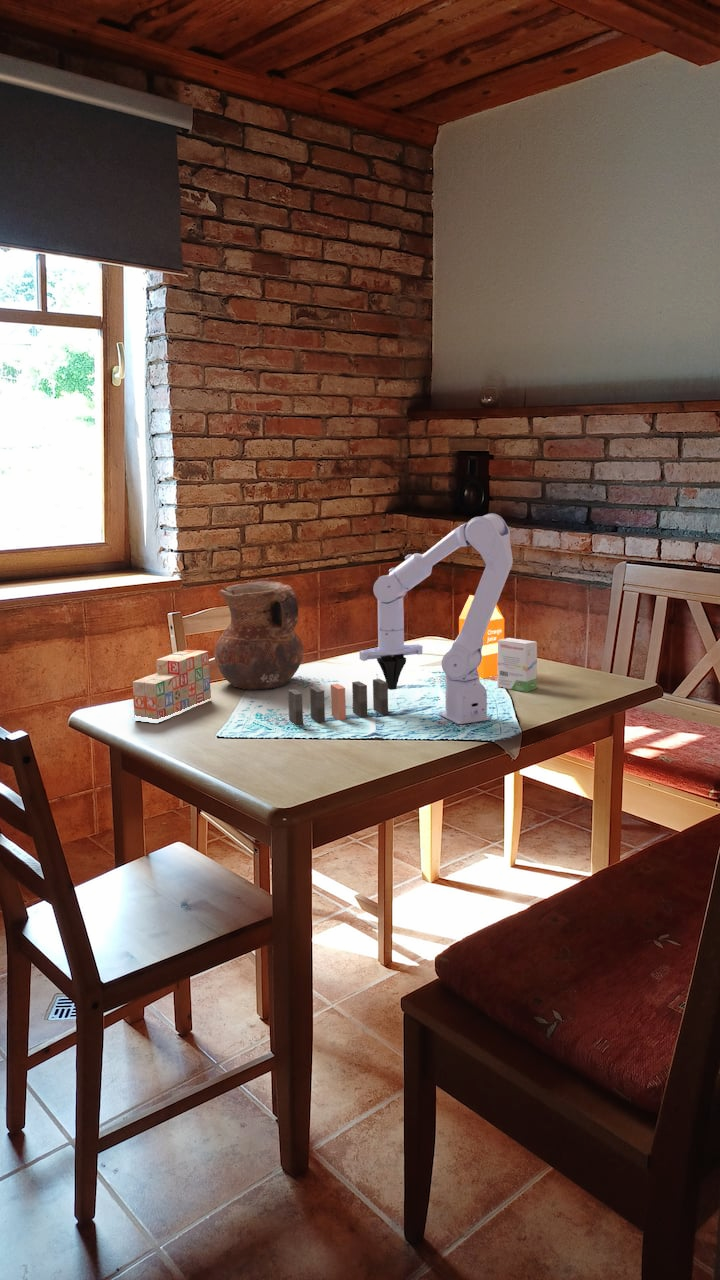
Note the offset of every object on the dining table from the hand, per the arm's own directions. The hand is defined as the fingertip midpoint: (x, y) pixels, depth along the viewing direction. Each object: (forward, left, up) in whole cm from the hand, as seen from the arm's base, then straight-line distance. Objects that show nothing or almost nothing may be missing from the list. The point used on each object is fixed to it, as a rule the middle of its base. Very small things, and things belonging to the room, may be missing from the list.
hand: (391, 688), depth 218 cm
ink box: (+4, -35, -5) cm, 36 cm away
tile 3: (0, +18, -5) cm, 18 cm away
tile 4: (0, +23, -5) cm, 23 cm away
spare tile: (0, +13, -5) cm, 14 cm away
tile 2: (0, +8, -5) cm, 9 cm away
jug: (+38, +19, -5) cm, 43 cm away
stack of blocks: (+22, +44, -5) cm, 50 cm away
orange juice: (+21, -35, -5) cm, 41 cm away
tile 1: (0, +3, -5) cm, 6 cm away
